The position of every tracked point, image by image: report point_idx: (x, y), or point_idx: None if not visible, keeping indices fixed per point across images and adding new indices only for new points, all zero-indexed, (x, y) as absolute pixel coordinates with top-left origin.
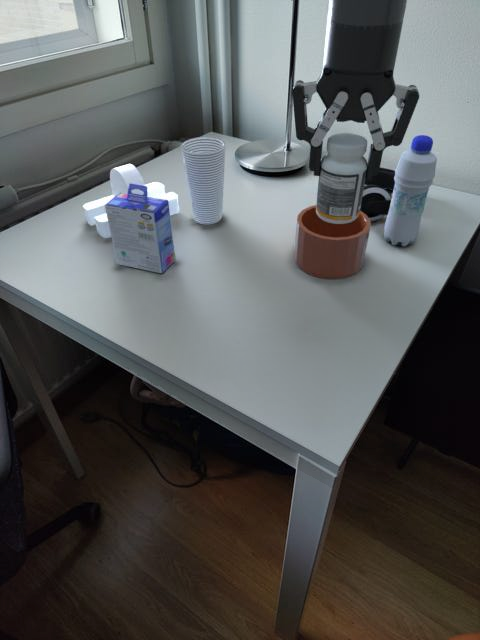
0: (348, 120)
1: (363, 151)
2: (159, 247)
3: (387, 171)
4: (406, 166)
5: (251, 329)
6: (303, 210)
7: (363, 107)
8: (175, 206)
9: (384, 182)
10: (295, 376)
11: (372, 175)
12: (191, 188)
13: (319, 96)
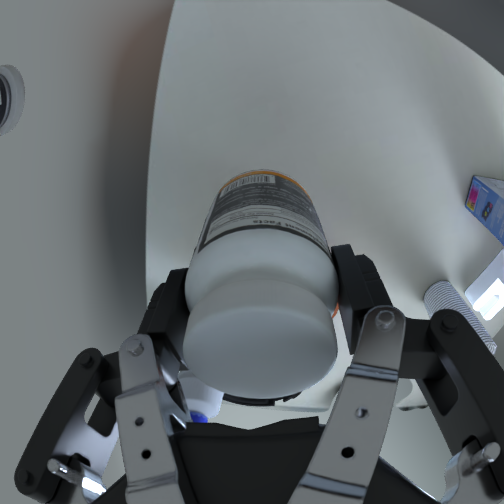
0: (260, 428)
1: (188, 323)
2: (494, 193)
3: (249, 403)
4: (205, 394)
5: (349, 92)
6: (334, 313)
7: (174, 487)
8: (471, 294)
9: None
10: (266, 29)
11: (168, 276)
12: (470, 309)
13: (428, 494)
